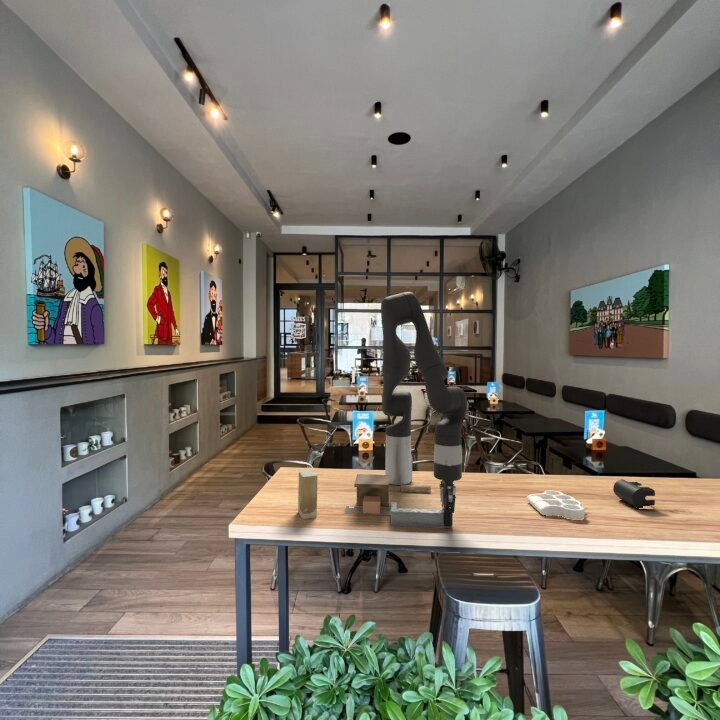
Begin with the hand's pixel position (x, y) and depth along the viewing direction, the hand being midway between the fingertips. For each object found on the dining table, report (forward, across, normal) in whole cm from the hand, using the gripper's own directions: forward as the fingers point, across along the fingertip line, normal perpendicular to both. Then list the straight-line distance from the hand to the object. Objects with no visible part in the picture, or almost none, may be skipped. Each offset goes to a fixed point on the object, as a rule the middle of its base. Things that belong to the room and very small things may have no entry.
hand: (447, 523), depth 116 cm
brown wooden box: (+1, -11, -21) cm, 24 cm away
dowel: (-1, -29, -7) cm, 30 cm away
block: (+1, -10, -21) cm, 23 cm away
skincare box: (+1, -5, -40) cm, 40 cm away
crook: (+1, -2, -7) cm, 7 cm away
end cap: (+1, -23, +61) cm, 65 cm away
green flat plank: (+1, -10, -16) cm, 19 cm away
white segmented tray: (+1, -17, +35) cm, 39 cm away
